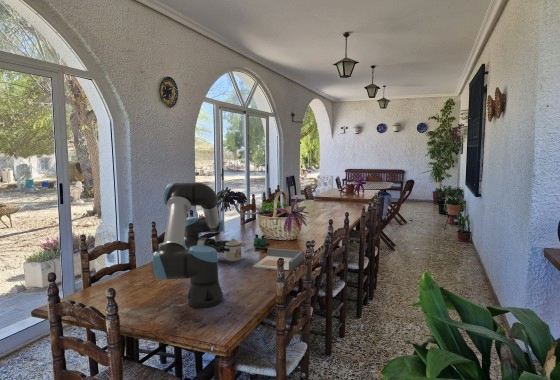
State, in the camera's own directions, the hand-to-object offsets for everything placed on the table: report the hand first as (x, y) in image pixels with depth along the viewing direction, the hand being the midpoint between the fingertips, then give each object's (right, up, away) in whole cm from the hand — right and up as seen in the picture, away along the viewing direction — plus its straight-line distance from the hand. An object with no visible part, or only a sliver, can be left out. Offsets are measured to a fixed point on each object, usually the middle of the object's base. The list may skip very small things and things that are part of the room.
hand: (240, 247), depth 214 cm
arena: (+22, -9, -2) cm, 24 cm away
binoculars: (+11, -6, +26) cm, 28 cm away
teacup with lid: (-3, -7, +2) cm, 8 cm away
